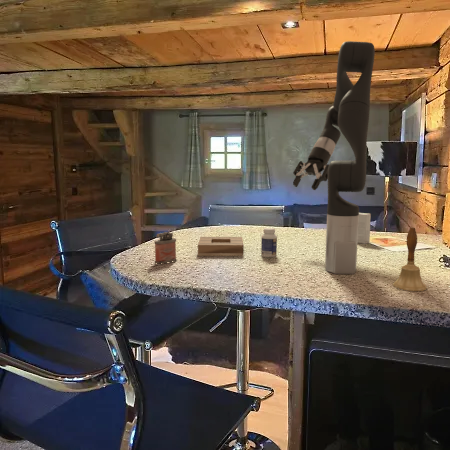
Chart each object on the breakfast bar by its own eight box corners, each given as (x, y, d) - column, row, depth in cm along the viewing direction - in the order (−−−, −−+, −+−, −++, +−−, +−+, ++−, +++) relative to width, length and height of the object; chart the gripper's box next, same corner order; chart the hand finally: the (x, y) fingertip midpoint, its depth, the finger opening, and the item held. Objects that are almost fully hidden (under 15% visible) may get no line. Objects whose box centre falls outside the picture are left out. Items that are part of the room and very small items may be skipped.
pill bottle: (275, 257, 148) (276, 230, 146) (260, 257, 149) (260, 229, 147) (277, 254, 153) (277, 227, 152) (262, 253, 154) (262, 227, 153)
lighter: (172, 259, 145) (171, 230, 144) (178, 261, 143) (178, 231, 141) (152, 263, 140) (151, 233, 138) (158, 265, 137) (158, 234, 136)
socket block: (243, 256, 150) (243, 245, 149) (197, 256, 150) (197, 244, 149) (241, 247, 166) (242, 236, 165) (200, 246, 166) (200, 236, 165)
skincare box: (369, 242, 175) (371, 213, 173) (365, 244, 172) (366, 214, 170) (355, 240, 179) (357, 212, 177) (351, 242, 176) (352, 213, 174)
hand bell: (393, 289, 112) (396, 229, 109) (392, 281, 119) (396, 224, 117) (427, 293, 109) (432, 231, 106) (425, 284, 117) (429, 226, 114)
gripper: (302, 144, 166) (284, 179, 163) (334, 147, 156) (315, 184, 153) (311, 156, 171) (293, 190, 168) (342, 159, 161) (323, 195, 158)
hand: (303, 187), depth 160 cm, fingers open, 8 cm apart
